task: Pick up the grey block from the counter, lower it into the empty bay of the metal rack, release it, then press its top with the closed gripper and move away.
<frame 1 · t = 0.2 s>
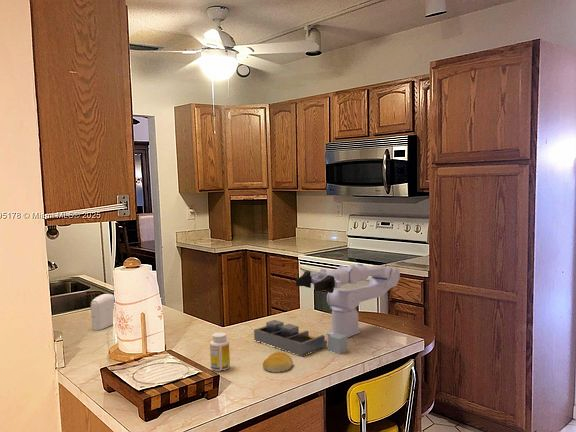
hand: (305, 284, 160), 21 cm above the worktop, tool horizontal, fingers open, 7 cm apart
bread roll: (277, 368, 147), on the worktop
rack: (289, 343, 167), on the worktop
supplement bottle: (220, 368, 147), on the worktop
grey block: (337, 351, 160), on the worktop
photo printer: (104, 327, 190), on the worktop
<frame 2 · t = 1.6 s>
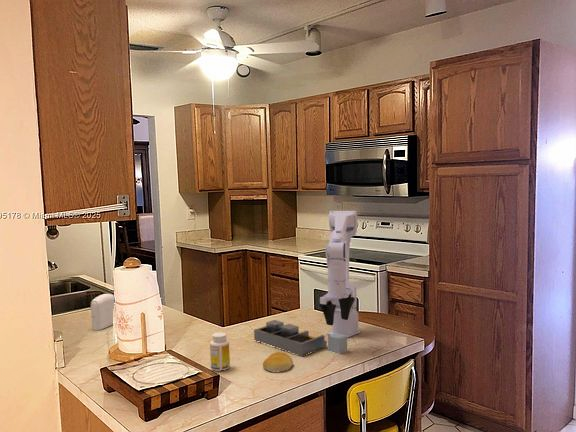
hand: (337, 322, 159), 9 cm above the worktop, tool pointing down, fingers open, 7 cm apart
nothing on the worktop moved.
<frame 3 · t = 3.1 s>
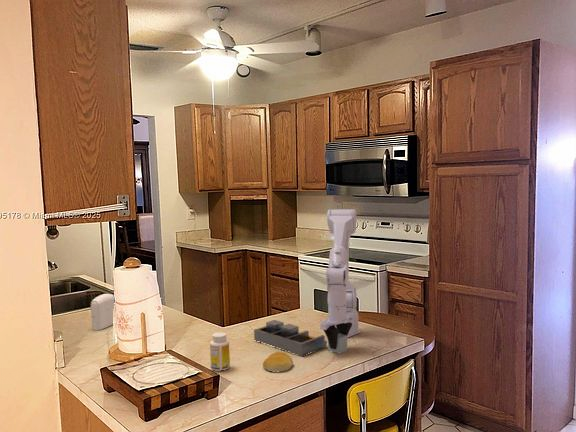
hand: (337, 346, 159), 1 cm above the worktop, tool pointing down, fingers closed on grey block, 4 cm apart
grey block: (337, 350, 160), on the worktop, touching gripper
everything else where it was.
when the fingers open (4 cm above the worktop, at t = 5.8 s): grey block stays where it is, resting on rack.
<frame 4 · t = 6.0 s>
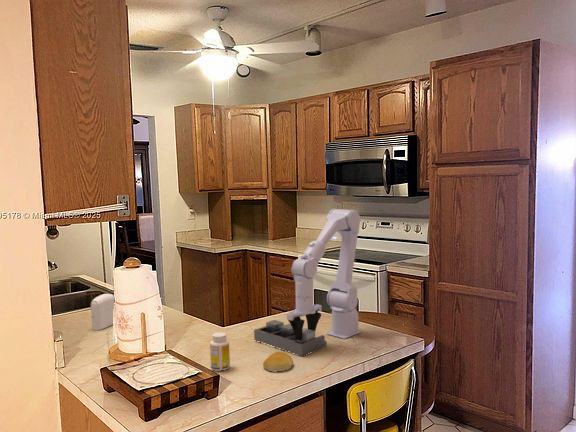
hand: (305, 337, 162), 4 cm above the worktop, tool pointing down, fingers open, 6 cm apart
grey block: (306, 346, 162), point 1 cm above the worktop, touching rack
everything else where it was.
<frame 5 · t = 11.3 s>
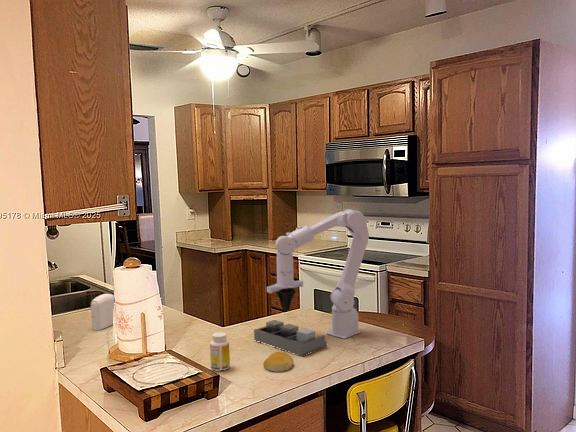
hand: (285, 310, 172), 10 cm above the worktop, tool pointing down, fingers closed
nothing on the worktop moved.
at the end: grey block 0.3 cm from the target spot on the rack, point 1.0 cm above the rack's base; grey block tilted 0°; the gripper is holding nothing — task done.
